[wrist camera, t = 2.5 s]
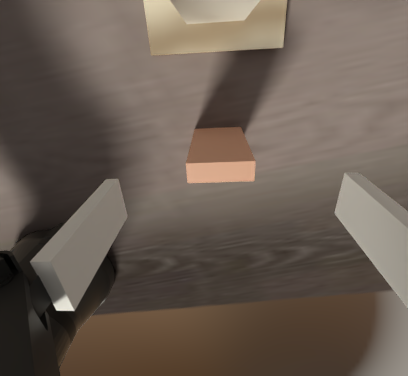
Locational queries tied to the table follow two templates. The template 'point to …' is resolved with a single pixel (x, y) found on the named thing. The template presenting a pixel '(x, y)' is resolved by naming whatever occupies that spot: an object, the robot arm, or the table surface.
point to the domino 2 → (219, 156)
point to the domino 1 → (214, 10)
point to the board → (214, 30)
